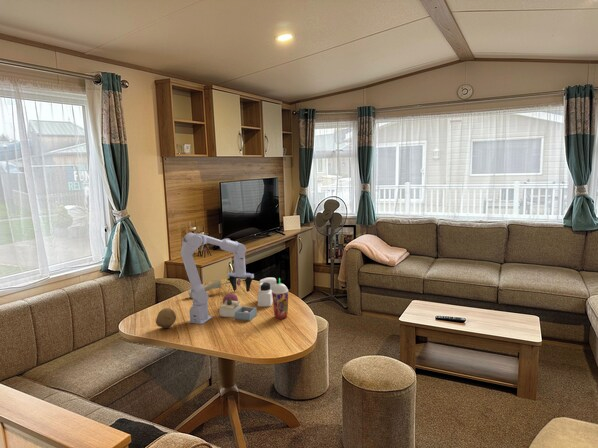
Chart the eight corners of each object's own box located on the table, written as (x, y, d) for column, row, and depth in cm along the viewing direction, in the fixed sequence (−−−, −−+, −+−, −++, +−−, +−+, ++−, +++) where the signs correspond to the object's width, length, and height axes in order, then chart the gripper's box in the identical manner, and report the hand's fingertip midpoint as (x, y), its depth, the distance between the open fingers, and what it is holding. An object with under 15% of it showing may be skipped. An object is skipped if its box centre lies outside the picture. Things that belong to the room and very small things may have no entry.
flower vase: (193, 308, 244) (247, 286, 256) (194, 308, 232) (251, 286, 245) (186, 289, 244) (241, 269, 257) (188, 289, 233) (244, 267, 245)
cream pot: (233, 317, 206) (233, 310, 205) (219, 316, 208) (219, 308, 208) (240, 312, 213) (240, 304, 213) (227, 310, 216) (226, 303, 215)
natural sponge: (180, 328, 195) (178, 308, 193) (162, 334, 189) (160, 313, 187) (171, 323, 201) (170, 304, 200) (154, 328, 195) (152, 309, 194)
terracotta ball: (247, 317, 204) (247, 312, 203) (242, 317, 205) (242, 311, 204) (249, 315, 206) (249, 310, 206) (244, 315, 207) (244, 309, 207)
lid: (233, 309, 206) (232, 302, 204) (220, 308, 208) (219, 301, 207) (239, 302, 212) (238, 296, 211) (226, 301, 215) (225, 295, 213)
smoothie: (287, 320, 200) (285, 280, 197) (271, 319, 202) (269, 280, 199) (291, 313, 208) (289, 276, 205) (275, 313, 210) (273, 275, 207)
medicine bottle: (273, 302, 227) (272, 281, 225) (270, 306, 220) (269, 285, 218) (260, 302, 228) (259, 281, 226) (257, 306, 221) (256, 285, 219)
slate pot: (250, 321, 201) (249, 313, 200) (235, 319, 203) (235, 311, 203) (256, 315, 208) (256, 307, 208) (242, 313, 211) (242, 306, 210)
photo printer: (275, 296, 237) (274, 275, 235) (278, 298, 233) (277, 277, 231) (258, 299, 232) (257, 278, 231) (261, 301, 229) (260, 280, 227)
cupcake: (225, 311, 222) (231, 312, 212) (217, 298, 221) (223, 299, 211) (238, 302, 226) (245, 303, 216) (230, 289, 225) (237, 290, 215)
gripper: (255, 264, 215) (257, 289, 217) (231, 263, 220) (232, 287, 222) (250, 267, 208) (251, 293, 211) (224, 266, 213) (226, 291, 215)
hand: (241, 290), depth 216 cm, fingers open, 7 cm apart
